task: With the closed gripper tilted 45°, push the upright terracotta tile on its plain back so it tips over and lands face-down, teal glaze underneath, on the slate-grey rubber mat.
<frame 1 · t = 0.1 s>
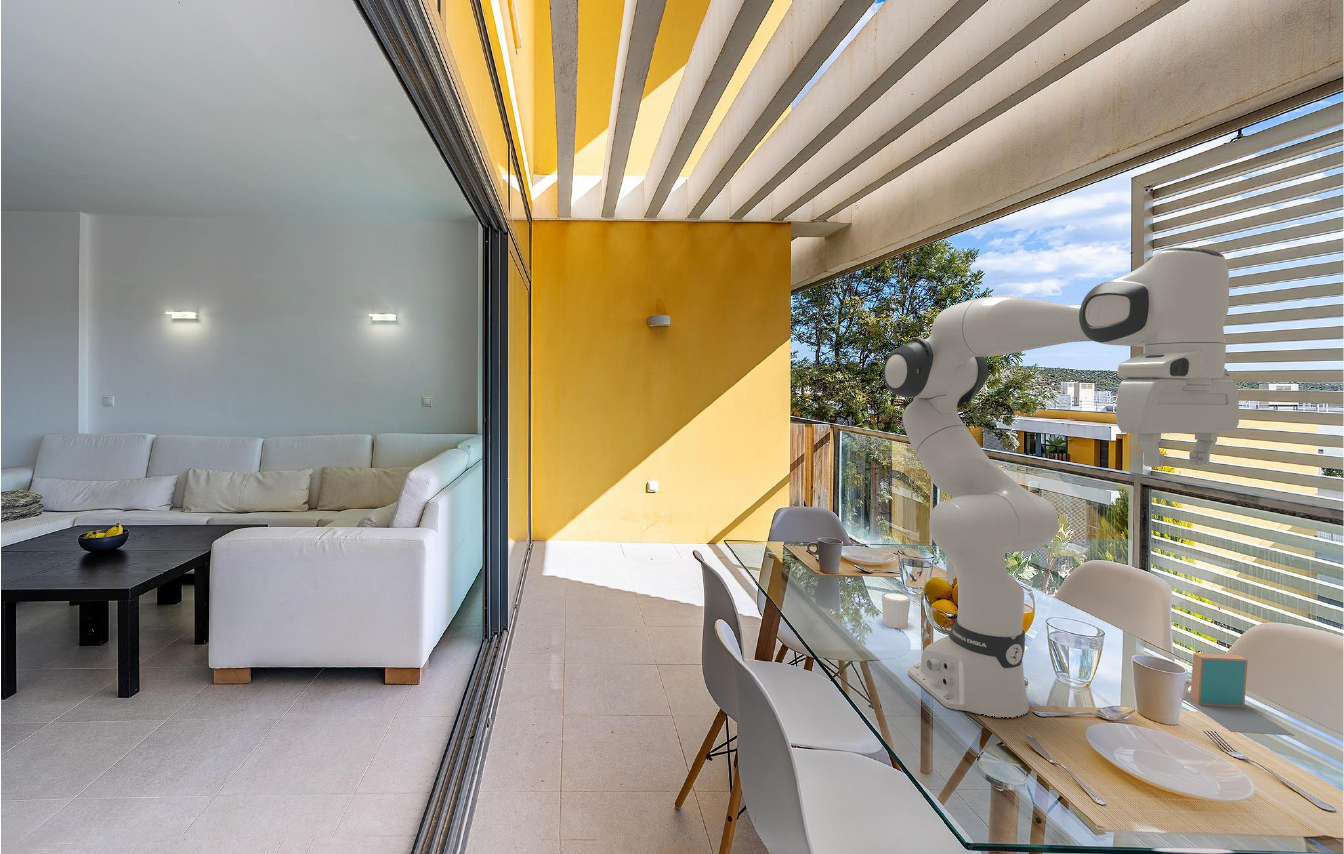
hand: (1176, 465, 91), 48 cm above the table, tool pointing down, fingers open, 8 cm apart
white cylinder: (895, 624, 162), on the table
mat: (1229, 716, 118), on the table
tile: (1216, 703, 121), point 1 cm above the table, touching mat
pouch: (967, 611, 172), on the table
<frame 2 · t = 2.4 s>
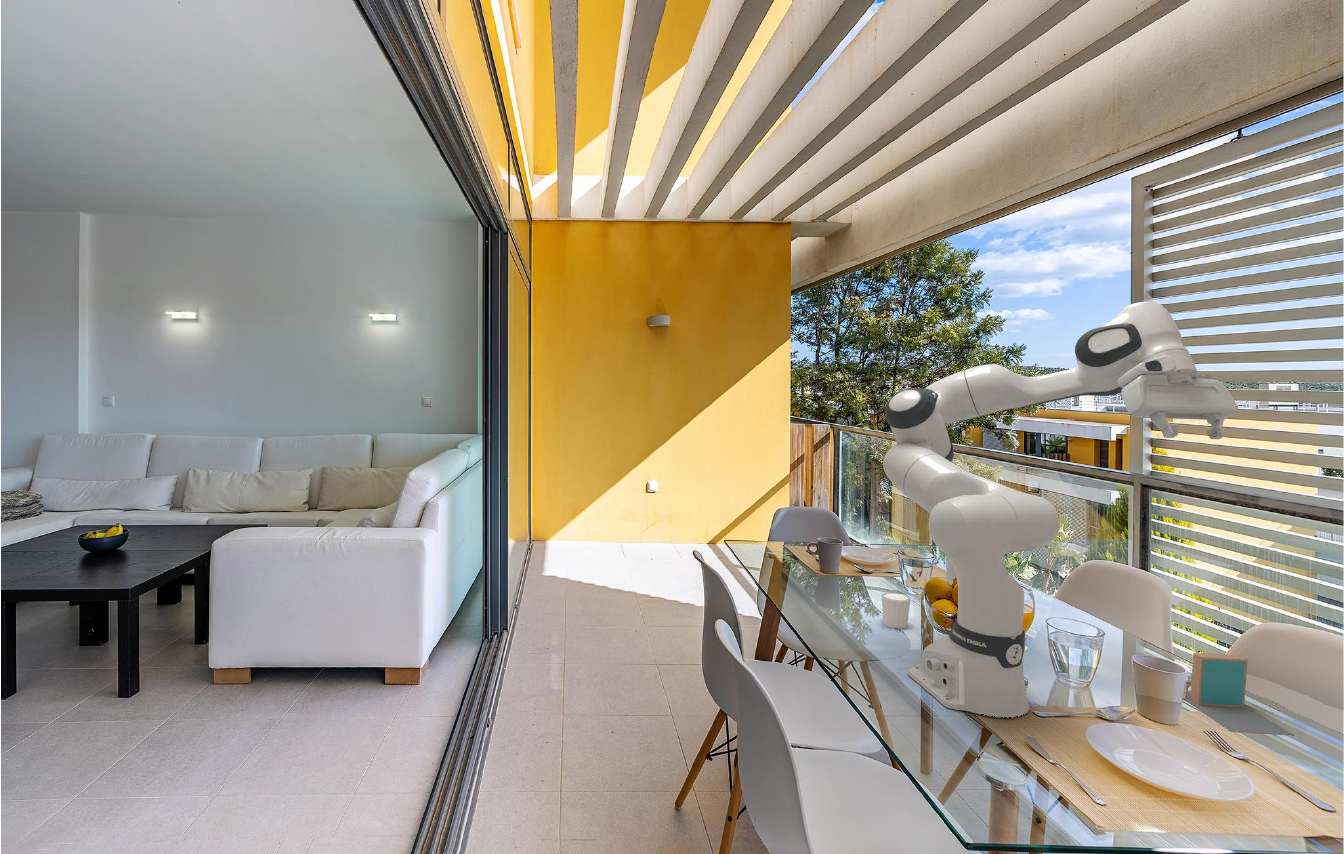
hand: (1194, 437, 122), 50 cm above the table, tool tilted 30°, fingers open, 8 cm apart
nothing on the table moved.
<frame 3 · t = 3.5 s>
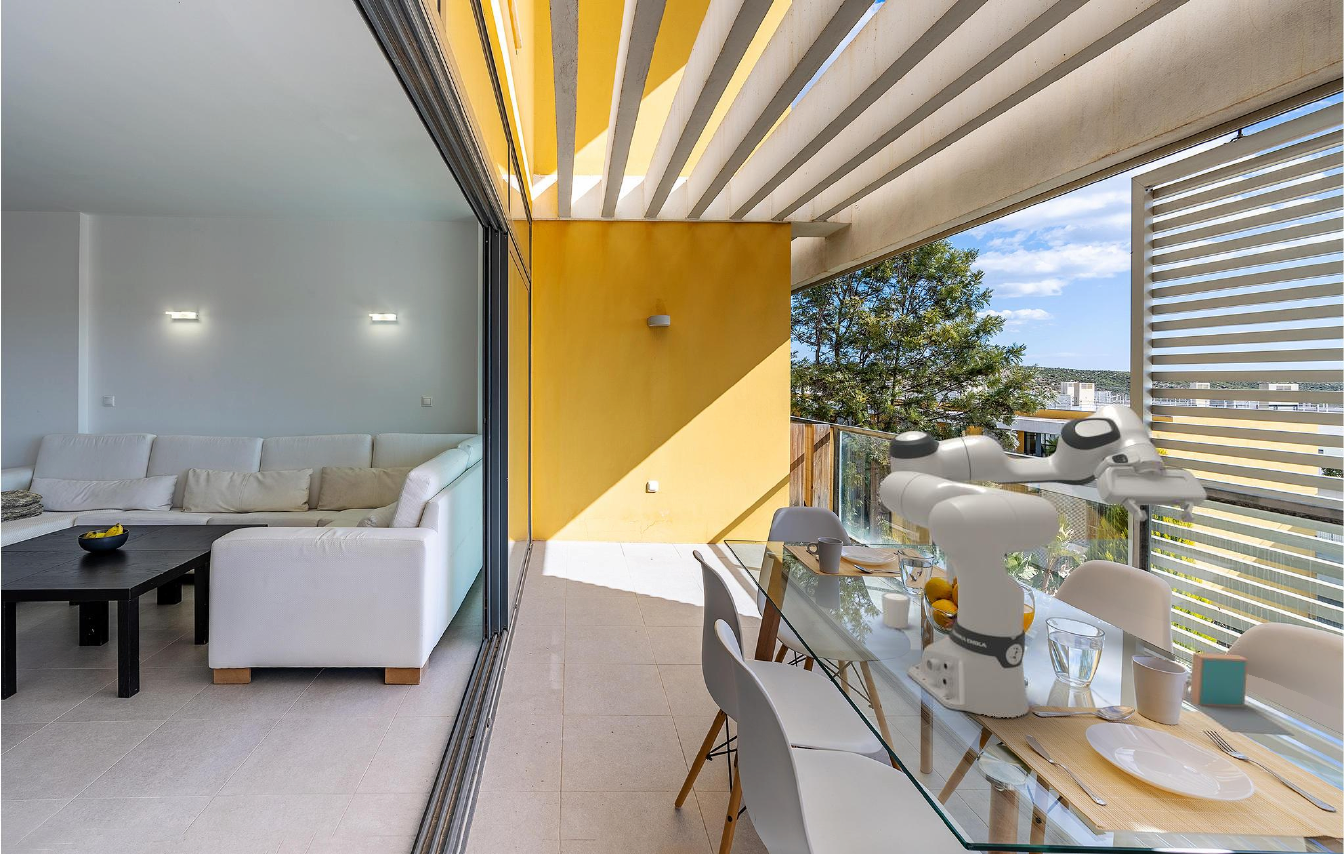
hand: (1165, 520, 136), 32 cm above the table, tool tilted 45°, fingers open, 8 cm apart
nothing on the table moved.
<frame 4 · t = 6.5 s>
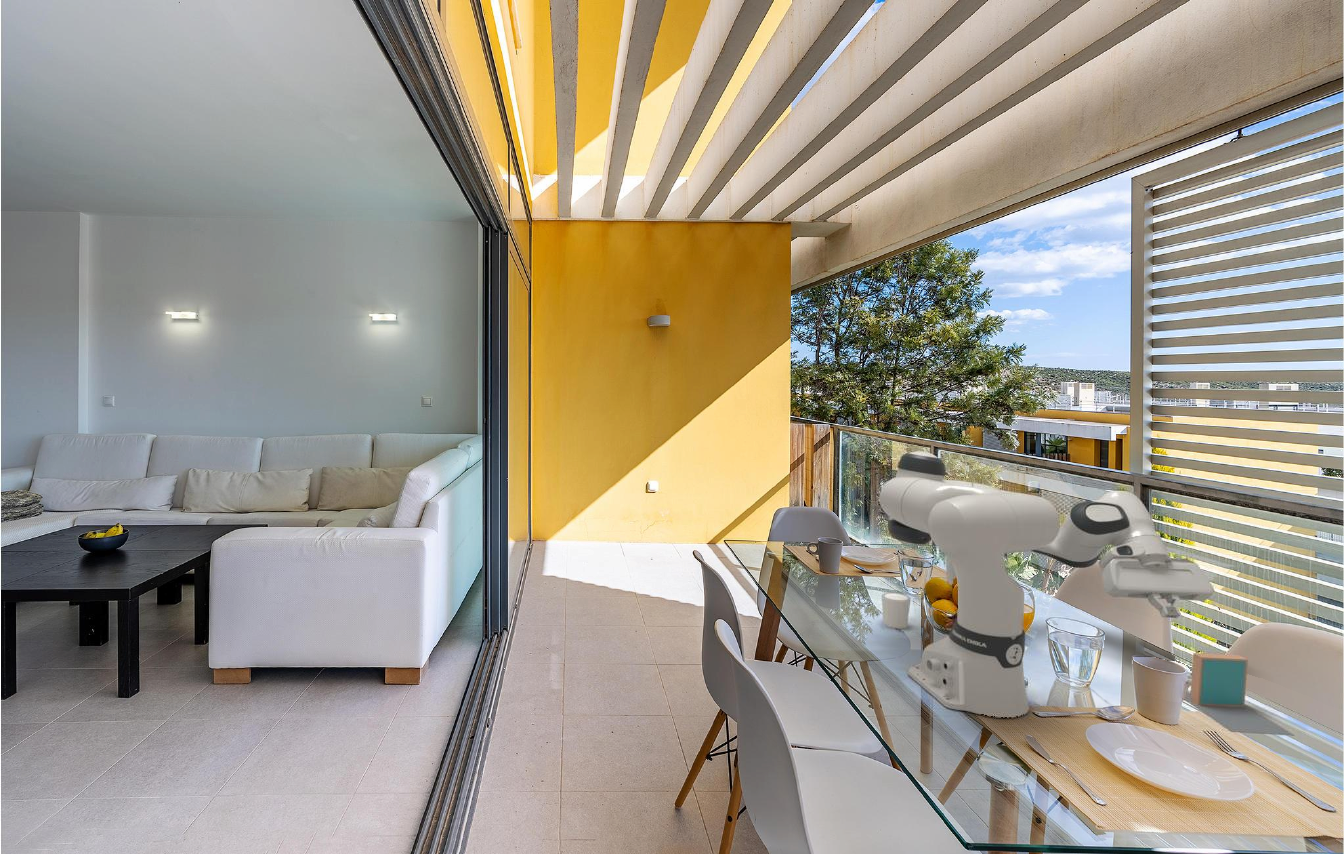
hand: (1171, 616, 135), 12 cm above the table, tool tilted 45°, fingers closed
nothing on the table moved.
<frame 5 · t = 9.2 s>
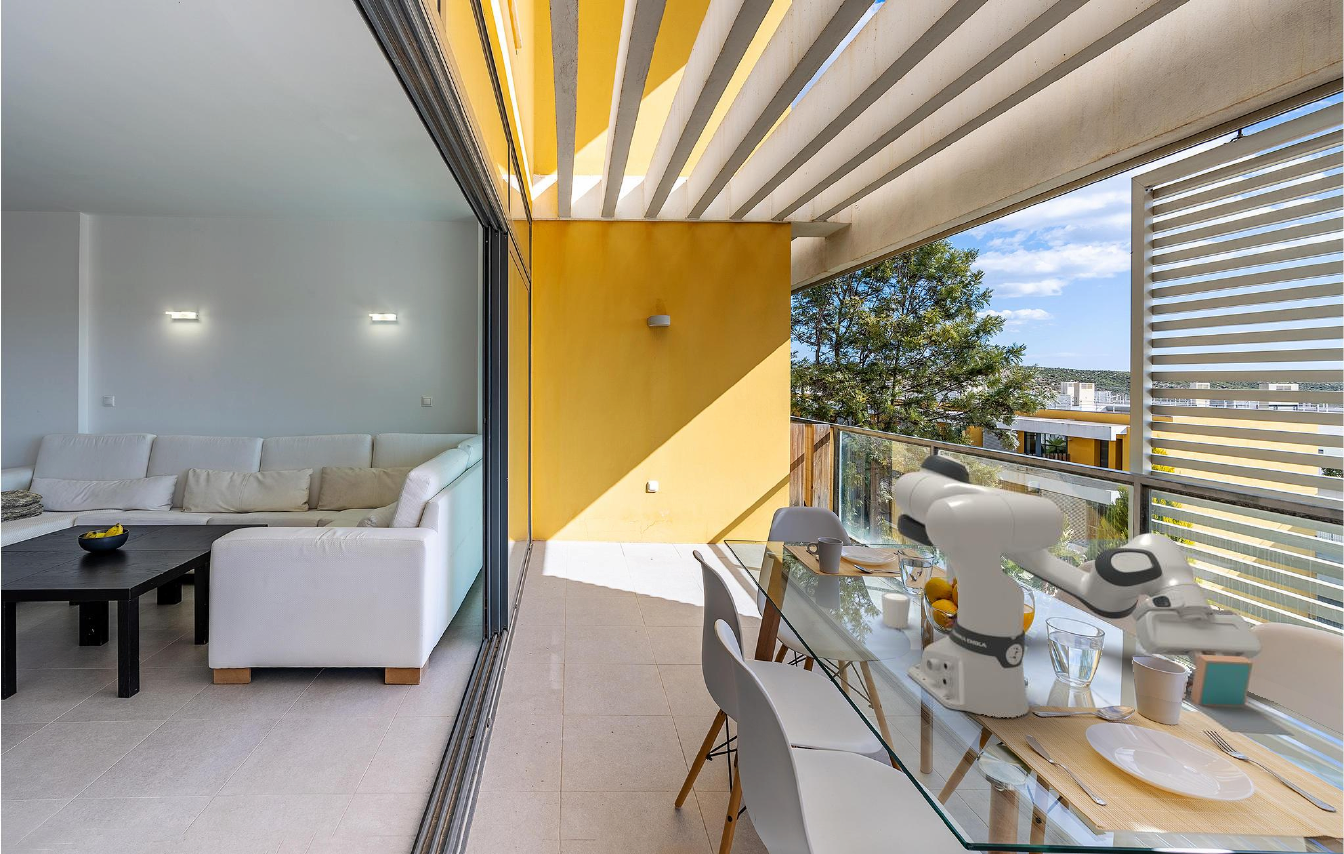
hand: (1216, 677, 122), 5 cm above the table, tool tilted 45°, fingers closed
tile: (1217, 702, 121), point 1 cm above the table, tilted 8°, touching mat
everything else where it was.
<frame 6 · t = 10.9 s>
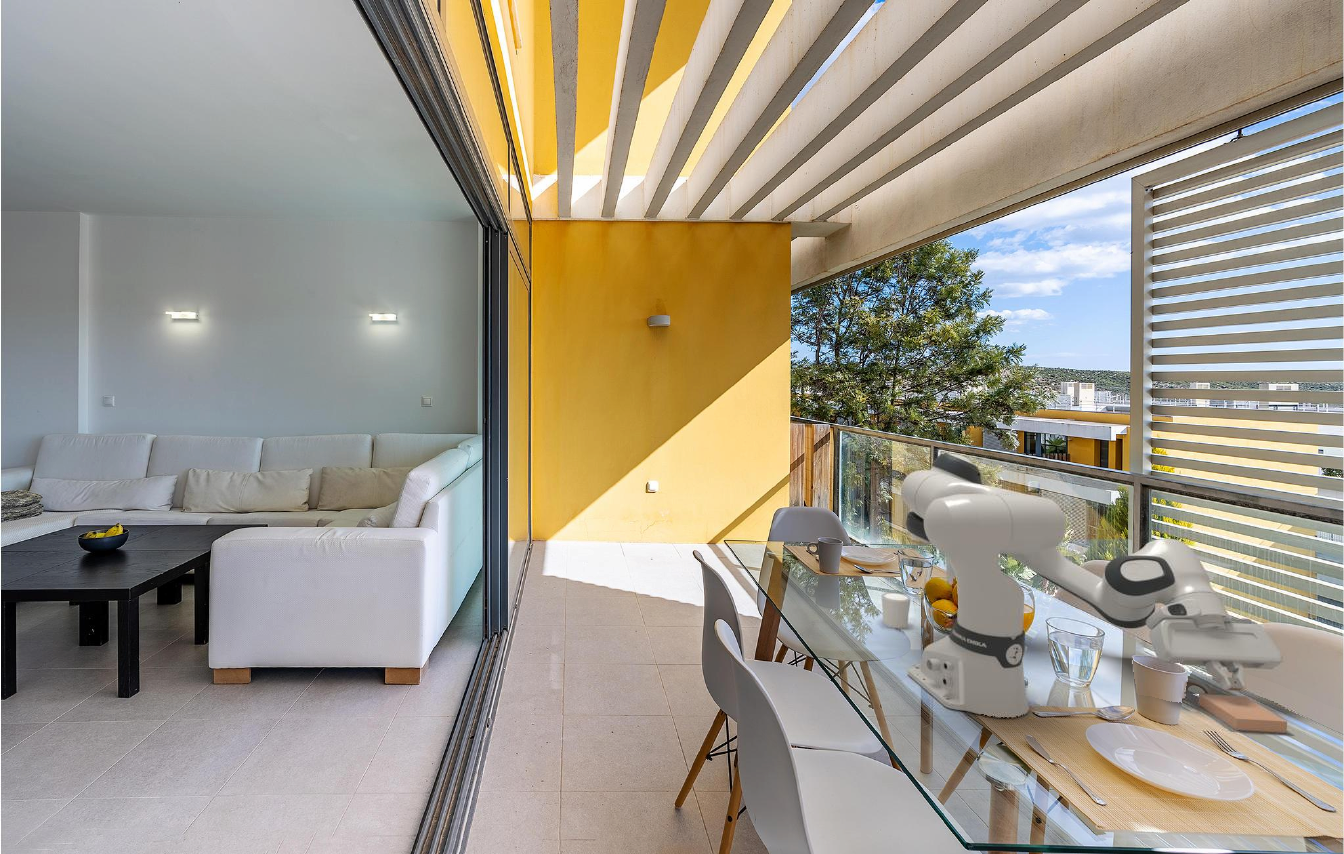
hand: (1235, 689, 117), 5 cm above the table, tool tilted 45°, fingers closed
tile: (1221, 700, 120), point 2 cm above the table, tilted 90°, touching mat
everything else where it was.
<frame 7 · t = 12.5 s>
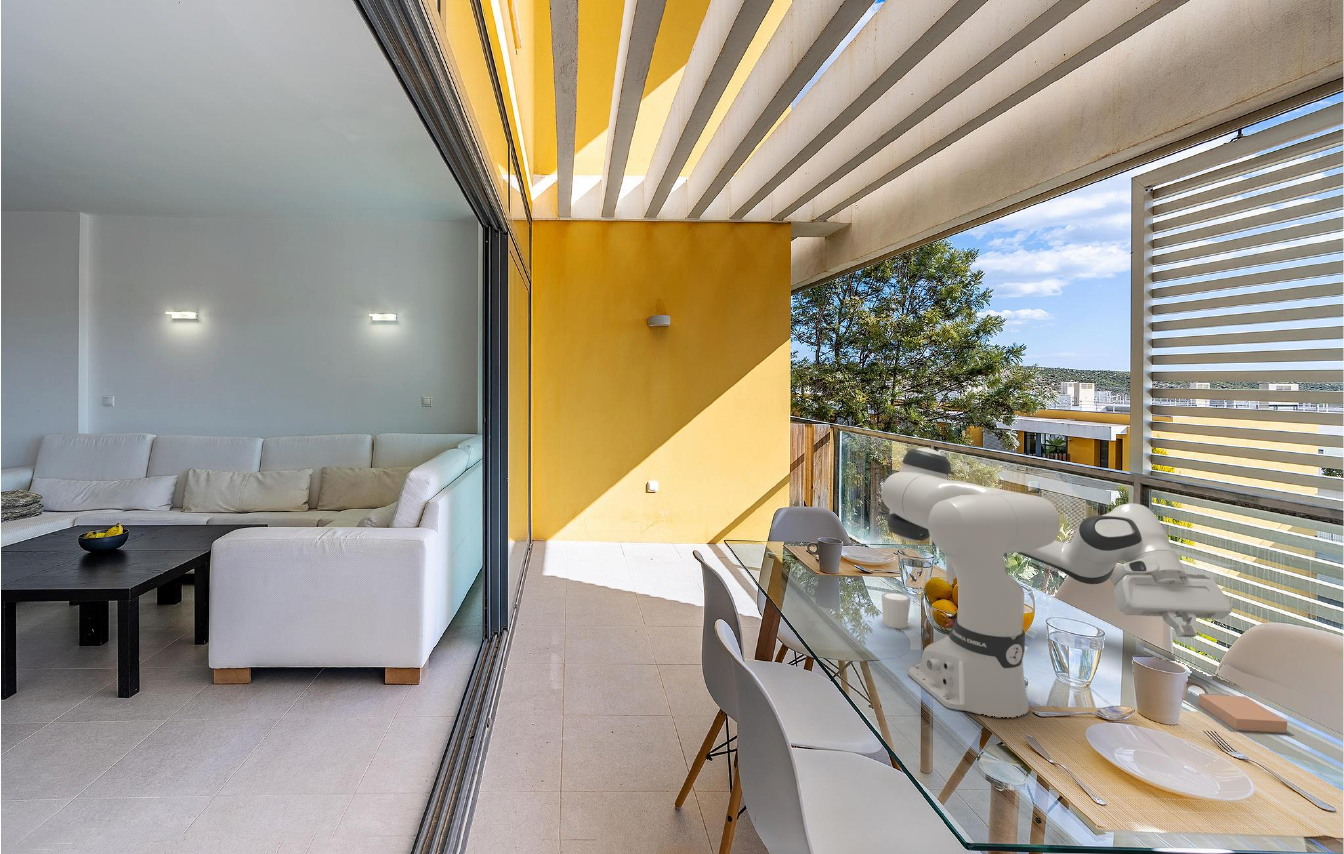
hand: (1187, 635, 129), 10 cm above the table, tool tilted 45°, fingers closed
nothing on the table moved.
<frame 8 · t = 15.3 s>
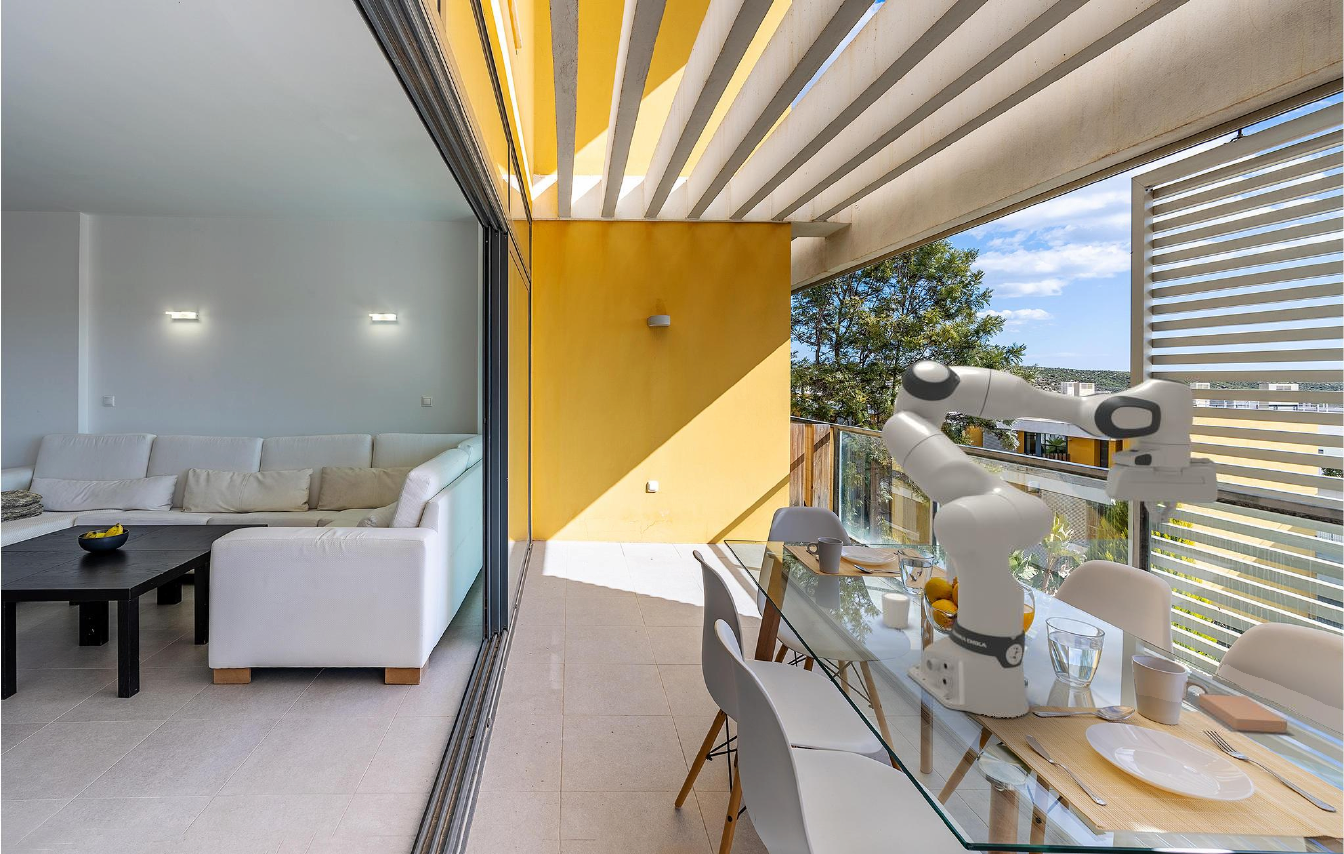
hand: (1159, 522, 136), 31 cm above the table, tool pointing down, fingers closed
nothing on the table moved.
at the end: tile tilted 90°; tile inside the target area on the mat (0.6 cm from its centre), point 1.9 cm above the mat's base; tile touching mat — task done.
